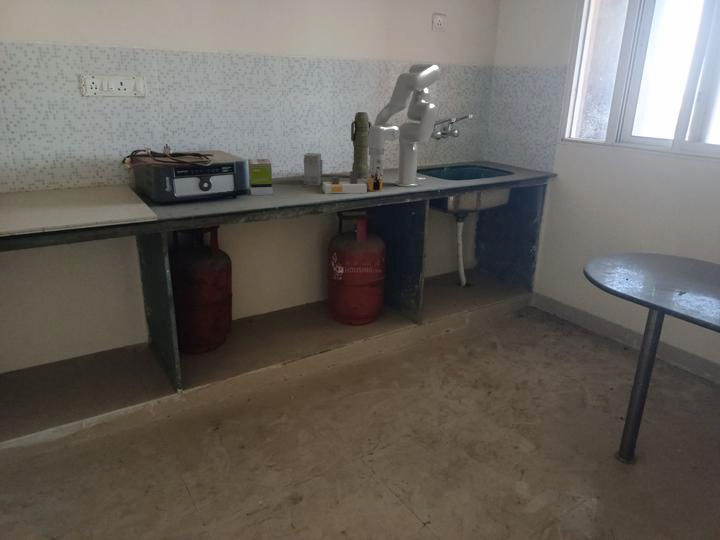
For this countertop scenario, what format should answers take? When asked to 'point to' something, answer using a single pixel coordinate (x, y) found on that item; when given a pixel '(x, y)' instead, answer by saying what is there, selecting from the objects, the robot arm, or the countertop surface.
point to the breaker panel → (344, 187)
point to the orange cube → (370, 184)
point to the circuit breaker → (312, 168)
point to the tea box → (260, 176)
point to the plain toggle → (353, 177)
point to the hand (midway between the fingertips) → (374, 188)
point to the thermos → (360, 143)
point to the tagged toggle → (335, 180)
